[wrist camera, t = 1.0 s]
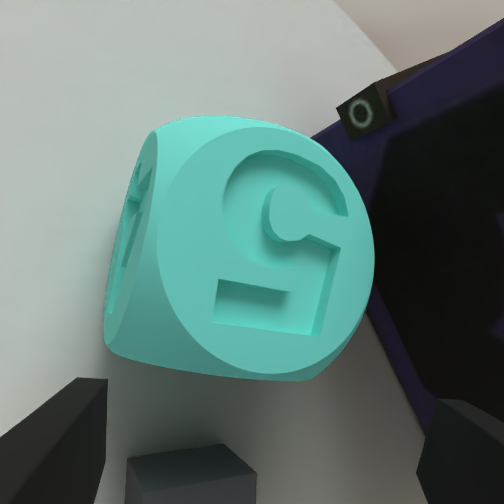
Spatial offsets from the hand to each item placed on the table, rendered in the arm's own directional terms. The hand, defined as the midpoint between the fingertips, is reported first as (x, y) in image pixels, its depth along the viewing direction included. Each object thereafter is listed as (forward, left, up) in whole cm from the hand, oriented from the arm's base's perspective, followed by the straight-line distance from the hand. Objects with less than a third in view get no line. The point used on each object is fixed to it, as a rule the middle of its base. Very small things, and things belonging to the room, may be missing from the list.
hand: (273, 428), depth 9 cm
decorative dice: (+4, -2, -11) cm, 12 cm away
